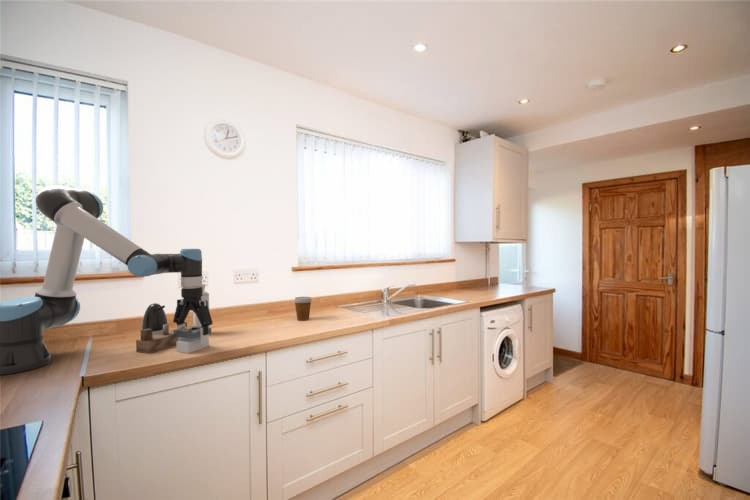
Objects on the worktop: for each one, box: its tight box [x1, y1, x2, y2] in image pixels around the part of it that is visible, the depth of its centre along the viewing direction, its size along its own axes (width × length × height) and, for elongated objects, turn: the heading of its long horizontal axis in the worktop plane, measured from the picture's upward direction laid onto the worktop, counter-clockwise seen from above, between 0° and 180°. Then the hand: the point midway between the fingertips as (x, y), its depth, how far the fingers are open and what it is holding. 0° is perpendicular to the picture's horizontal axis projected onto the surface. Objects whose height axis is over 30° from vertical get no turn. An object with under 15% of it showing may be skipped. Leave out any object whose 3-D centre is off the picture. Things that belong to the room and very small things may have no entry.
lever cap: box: [173, 325, 212, 339], centre depth 136 cm, size 8×11×4 cm
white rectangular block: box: [175, 335, 210, 354], centre depth 136 cm, size 10×6×4 cm, turn 160°
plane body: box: [135, 321, 188, 354], centre depth 141 cm, size 20×7×8 cm, turn 160°
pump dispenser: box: [141, 302, 169, 335], centre depth 155 cm, size 10×10×15 cm
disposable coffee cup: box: [293, 296, 312, 322], centre depth 187 cm, size 10×10×12 cm
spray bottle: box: [192, 283, 211, 328], centre depth 158 cm, size 7×7×25 cm
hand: (192, 341), depth 136 cm, fingers closed on lever cap, 11 cm apart
